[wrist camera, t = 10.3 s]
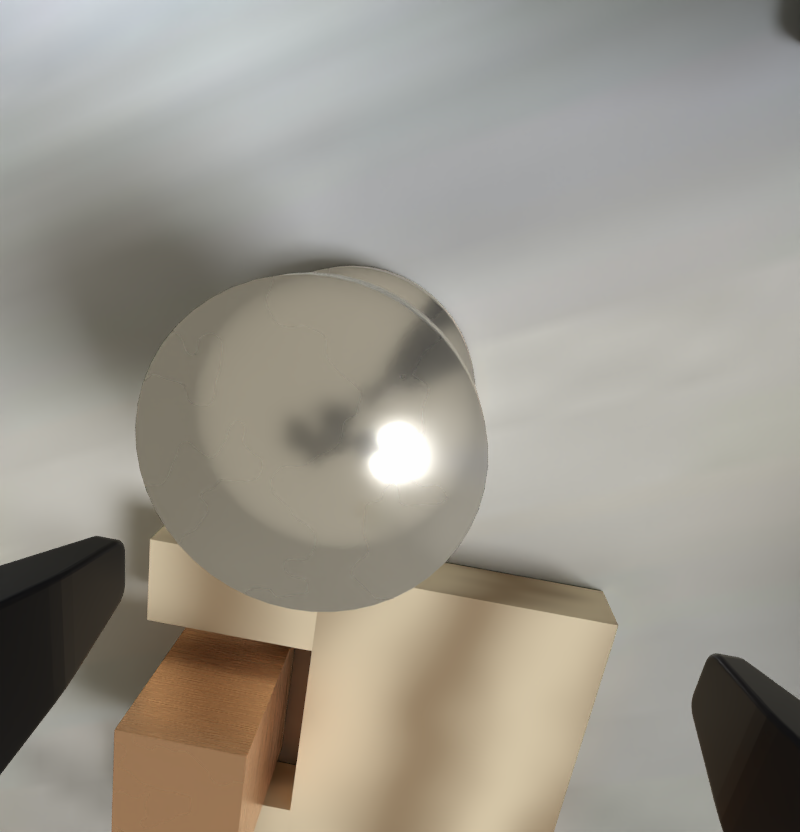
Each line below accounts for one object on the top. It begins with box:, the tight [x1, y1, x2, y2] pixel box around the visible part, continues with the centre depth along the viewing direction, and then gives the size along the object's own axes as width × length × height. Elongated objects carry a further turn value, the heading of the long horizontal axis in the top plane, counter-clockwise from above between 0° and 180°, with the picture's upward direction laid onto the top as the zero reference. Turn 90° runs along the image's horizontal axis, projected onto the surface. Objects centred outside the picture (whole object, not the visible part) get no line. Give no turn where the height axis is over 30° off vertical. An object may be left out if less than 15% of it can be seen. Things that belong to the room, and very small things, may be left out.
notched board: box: [147, 525, 618, 832], centre depth 22 cm, size 16×14×2 cm
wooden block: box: [112, 627, 295, 832], centre depth 21 cm, size 4×6×6 cm, turn 171°
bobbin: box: [135, 266, 488, 612], centre depth 16 cm, size 8×8×7 cm
